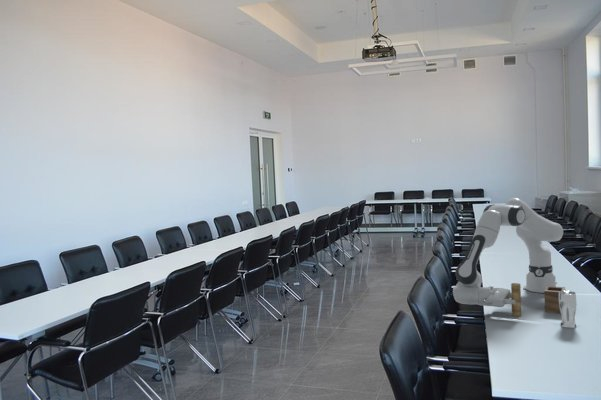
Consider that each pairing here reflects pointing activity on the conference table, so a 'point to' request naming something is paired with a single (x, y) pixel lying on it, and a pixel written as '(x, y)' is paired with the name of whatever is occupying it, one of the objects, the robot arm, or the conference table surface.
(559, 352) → the conference table surface
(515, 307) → the dowel
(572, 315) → the beer glass
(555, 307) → the socket block
